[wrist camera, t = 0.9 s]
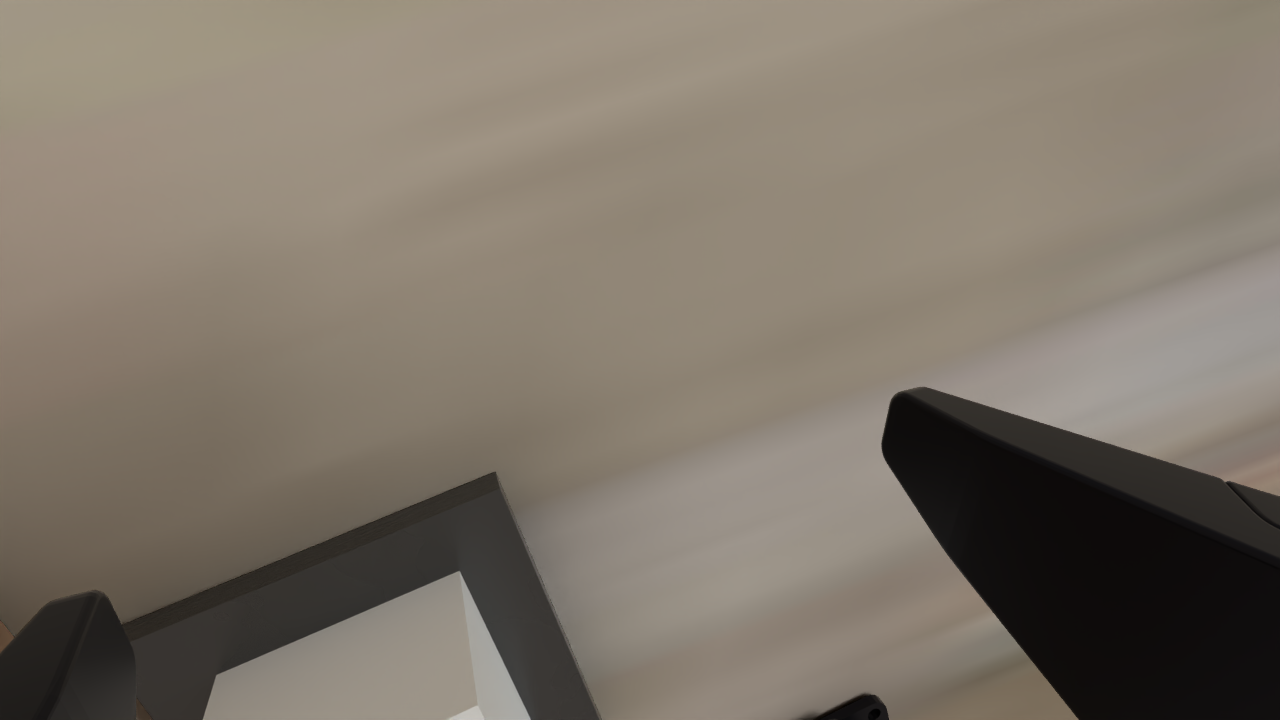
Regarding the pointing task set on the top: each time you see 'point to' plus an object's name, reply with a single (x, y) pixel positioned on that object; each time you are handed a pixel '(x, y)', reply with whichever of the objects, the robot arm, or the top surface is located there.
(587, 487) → the top surface
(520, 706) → the collar
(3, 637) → the hub
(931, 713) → the top surface
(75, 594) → the robot arm
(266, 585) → the stand
